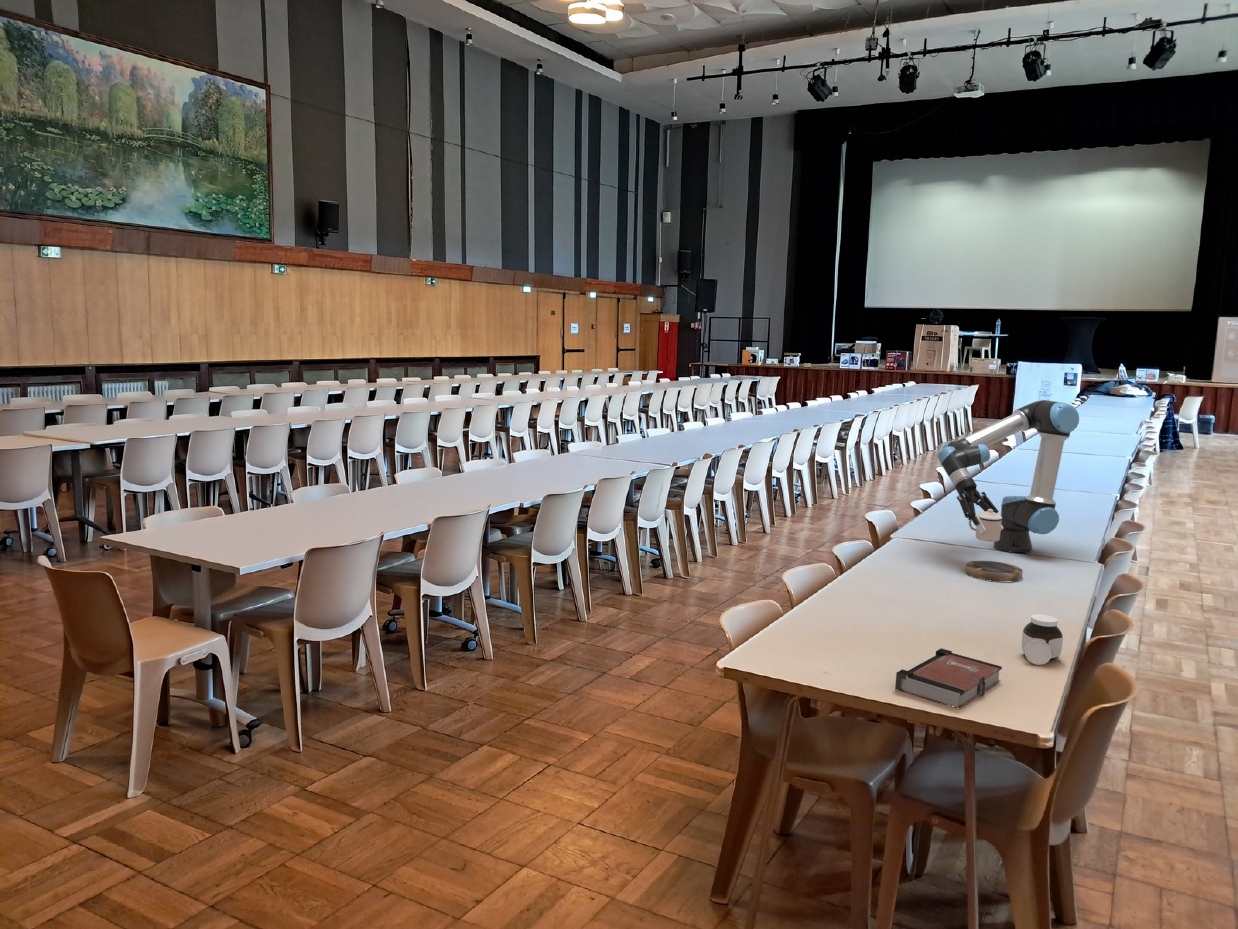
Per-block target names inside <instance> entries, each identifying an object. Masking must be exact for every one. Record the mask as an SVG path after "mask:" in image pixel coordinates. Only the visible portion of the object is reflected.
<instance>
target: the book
mask: <svg viewBox="0 0 1238 929" xmlns="http://www.w3.org/2000/svg"><path fill="white" fill-rule="evenodd" d="M1002 668H1003V666H1001V665H999V664H998V665H997V664H993V663H989V662H987V661H983V660H979V659H977V658H976V659H975V658H973V657H969V656H965V655H962V654H958V653H954V652H953V651H952V650H948V649H945V648H942V647H941V648H939V649H937V650H936V651H935V655H933V656H932V657H930V658H929V659H926V660H925V661H923V662H921V663H919V664H918V665H915V666H914V667H912V668H910V669H909V670H907V669H900V670H899V671H897V672H896V673H895V674H896V675H895V689H894V690H896V689H898V690H897V691H899V690H900V691H899V692H902V691H903V693H904V694H905V693H906V694H909V695H912V696H915V695H916V696H915V697H919V698H922V699H924V698H925V700H928V701H932V702H934V703H937V702H938V704H940V703H942V704H941V705H943V704H944V705H943V706H946V705H950V706H954V707H955V708H954V709H956V708H960V709H962V708H963V707H965V706H966V705H968V704H969V703H971V702H972V701H974V700H975V699H976V698H978V697H979V696H980V697H982V696H984V695H985V693H986V692H987V691H988V690H989V688H990V689H991V688H993V687H994V686H995V685H994V684H996V685H997V684H999V683H1000V682H1001V679H1000V678H999V677H1000V671H1001V670H1003V669H1002ZM999 681H1000V682H999ZM998 682H999V683H998ZM993 685H994V686H993ZM992 686H993V687H992ZM967 703H968V704H967ZM964 705H965V706H964ZM961 707H962V708H961Z"/></svg>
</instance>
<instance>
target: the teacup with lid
mask: <svg viewBox="0 0 1238 929" xmlns="http://www.w3.org/2000/svg"><path fill="white" fill-rule="evenodd" d="M976 516H979V518H980V520H981V522H982V523H983V525H984V527H985V528H986V531H985V532H984V533H982V534H980V532H979V531H978V529H977V527H976V526H975V528H974V527H973V525H972V522H973V521H972V520H968V527H969V528H970V529H971V531H974V532H975V538H976V539H977V540H979V541H983V542H989V543H990V542H991V543H994V542H996V541H999V540H1000V531H1001V521H1002V517H1001V514H998V513H997V514H996V513H995V512H993V510H992V509H988V510H987V511H986V512H985V511H984V512H980V513H978V514H976Z"/></svg>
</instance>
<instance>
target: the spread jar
mask: <svg viewBox="0 0 1238 929" xmlns="http://www.w3.org/2000/svg"><path fill="white" fill-rule="evenodd" d="M1063 636H1064V635H1063V632H1062V630H1061V629H1060V628H1059V627H1058V619H1057V618H1056V617H1054V616H1051V615H1047V614H1039V613H1038V614H1037V613H1036V614H1033V615H1032V614H1031V616H1030V622H1029V623H1027V624H1026V625H1025V626H1024V628H1023V630H1022V633H1021V649H1022V651H1023V653H1024V655H1025V656H1024V657H1025V658H1026V659H1027V660H1028V661H1029V662H1030V663H1032V664H1033V665H1036V666H1037V665H1038V666H1041V665H1042V666H1043V665H1044V664H1047V663H1048V661H1050V662H1053V661H1055V660H1057V659H1059V657H1060V656H1061V654H1062V651H1063V650H1062V649H1063V643H1064V642H1063V640H1064V639H1063Z"/></svg>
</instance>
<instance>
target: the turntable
mask: <svg viewBox="0 0 1238 929" xmlns="http://www.w3.org/2000/svg"><path fill="white" fill-rule="evenodd" d="M1023 571H1024V570H1023V569H1022V568H1021V567H1019V566H1018V565H1014V564H1010V563H1006V562H1000V561H996V560H995V561H993V560H972V561H968V562H967V563H966V564H965V571H964V572H965V574H966V575H968V576H969V575H970V576H969V577H971V576H972V578H975V579H977V578H981V579H985V580H984V581H986V580H991V581H990V582H993V581H1017V582H1019V581H1018V580H1020V579H1021V578H1022V579H1023V573H1024V572H1023ZM981 579H980V580H981ZM1022 579H1021V580H1022ZM1021 580H1020V581H1021Z"/></svg>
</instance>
